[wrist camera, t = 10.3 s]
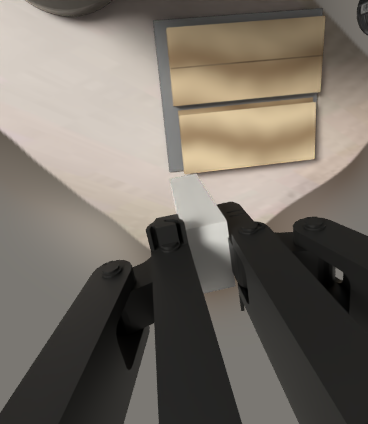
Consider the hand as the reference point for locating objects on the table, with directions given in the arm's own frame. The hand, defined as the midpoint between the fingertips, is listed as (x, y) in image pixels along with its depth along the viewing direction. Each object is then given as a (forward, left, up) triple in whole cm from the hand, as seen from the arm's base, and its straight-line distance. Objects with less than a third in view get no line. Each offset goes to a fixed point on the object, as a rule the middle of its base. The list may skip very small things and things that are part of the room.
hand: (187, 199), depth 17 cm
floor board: (-8, +11, -23) cm, 27 cm away
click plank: (0, +11, -22) cm, 25 cm away
